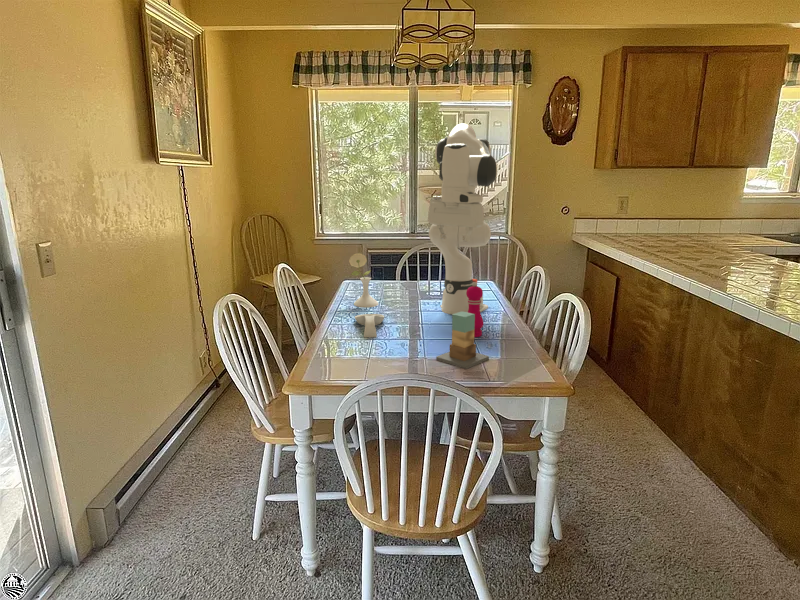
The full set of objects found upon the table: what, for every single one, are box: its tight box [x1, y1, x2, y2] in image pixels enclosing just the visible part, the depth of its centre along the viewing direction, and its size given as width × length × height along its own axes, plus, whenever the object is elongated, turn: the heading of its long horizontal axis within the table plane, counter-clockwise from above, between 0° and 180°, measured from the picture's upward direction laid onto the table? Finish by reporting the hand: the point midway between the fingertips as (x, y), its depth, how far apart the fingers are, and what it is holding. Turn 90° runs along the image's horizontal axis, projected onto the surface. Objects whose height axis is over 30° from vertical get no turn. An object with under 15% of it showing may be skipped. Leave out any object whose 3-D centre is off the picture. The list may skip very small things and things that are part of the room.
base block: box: [449, 343, 477, 361], centre depth 161 cm, size 6×6×4 cm
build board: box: [435, 351, 490, 370], centre depth 162 cm, size 12×12×1 cm
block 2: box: [451, 329, 475, 348], centre depth 160 cm, size 5×5×5 cm
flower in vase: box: [348, 252, 379, 308], centre depth 224 cm, size 13×11×25 cm
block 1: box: [451, 311, 475, 333], centre depth 159 cm, size 5×5×5 cm
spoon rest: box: [354, 313, 385, 338], centre depth 194 cm, size 24×12×7 cm, turn 5°
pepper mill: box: [466, 282, 484, 338], centre depth 185 cm, size 7×7×20 cm
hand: (454, 240), depth 164 cm, fingers open, 8 cm apart
